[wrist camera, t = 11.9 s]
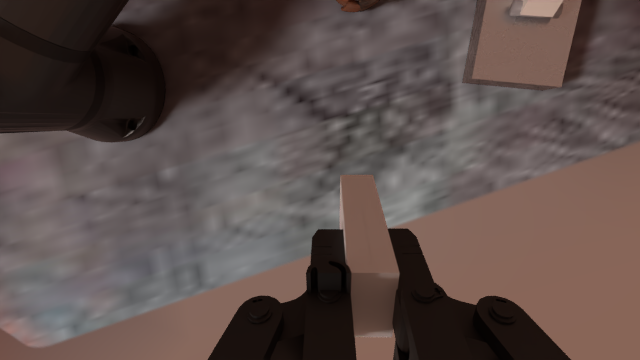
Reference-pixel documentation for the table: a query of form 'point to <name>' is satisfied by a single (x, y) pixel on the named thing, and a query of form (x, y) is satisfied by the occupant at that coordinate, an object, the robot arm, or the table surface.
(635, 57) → the table surface
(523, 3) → the toggle
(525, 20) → the switch box
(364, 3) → the pottery mug
